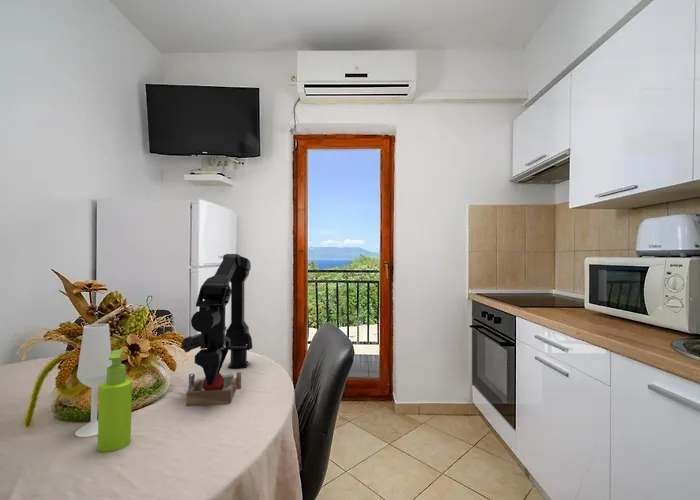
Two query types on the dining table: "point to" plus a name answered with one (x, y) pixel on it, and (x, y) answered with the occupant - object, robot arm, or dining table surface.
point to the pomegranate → (214, 383)
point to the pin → (191, 380)
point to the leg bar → (226, 380)
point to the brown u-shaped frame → (212, 393)
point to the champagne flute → (93, 368)
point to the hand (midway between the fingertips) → (213, 378)
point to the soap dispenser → (115, 407)
